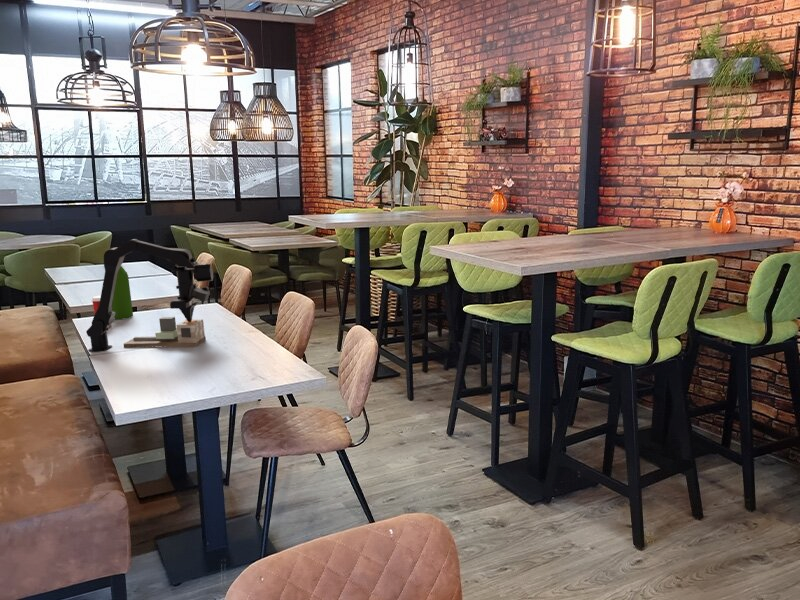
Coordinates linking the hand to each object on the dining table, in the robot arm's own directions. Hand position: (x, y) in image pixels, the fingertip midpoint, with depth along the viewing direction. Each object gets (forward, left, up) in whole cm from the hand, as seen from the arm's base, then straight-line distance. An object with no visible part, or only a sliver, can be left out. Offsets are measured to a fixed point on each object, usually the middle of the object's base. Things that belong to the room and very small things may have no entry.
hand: (189, 321), depth 261 cm
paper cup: (+28, +52, -9) cm, 60 cm away
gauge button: (0, 0, -5) cm, 5 cm away
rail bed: (0, +11, -9) cm, 14 cm away
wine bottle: (+48, +54, -9) cm, 73 cm away
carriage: (0, +9, -6) cm, 11 cm away
